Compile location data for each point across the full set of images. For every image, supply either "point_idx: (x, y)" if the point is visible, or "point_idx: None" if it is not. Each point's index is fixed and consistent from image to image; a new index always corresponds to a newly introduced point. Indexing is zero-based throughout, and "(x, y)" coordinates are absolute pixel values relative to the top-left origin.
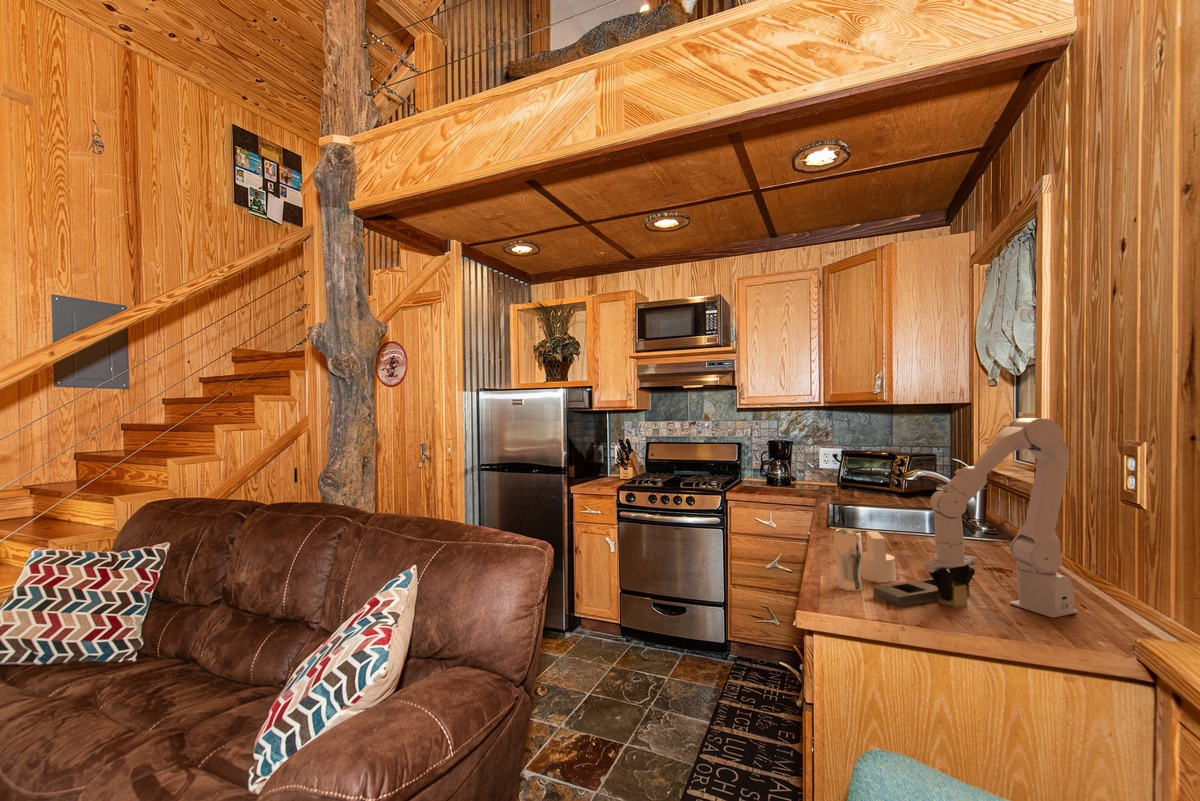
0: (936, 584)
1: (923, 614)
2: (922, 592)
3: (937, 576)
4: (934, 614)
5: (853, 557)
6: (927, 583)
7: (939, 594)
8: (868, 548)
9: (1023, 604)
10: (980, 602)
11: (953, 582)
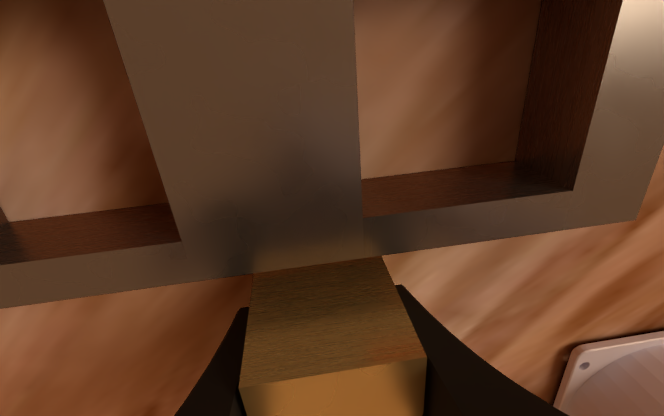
0: (186, 406)
1: (17, 378)
2: (92, 283)
3: None
4: (89, 385)
5: None
6: (355, 52)
7: (251, 297)
8: None
9: (578, 402)
10: (489, 295)
11: (376, 413)
